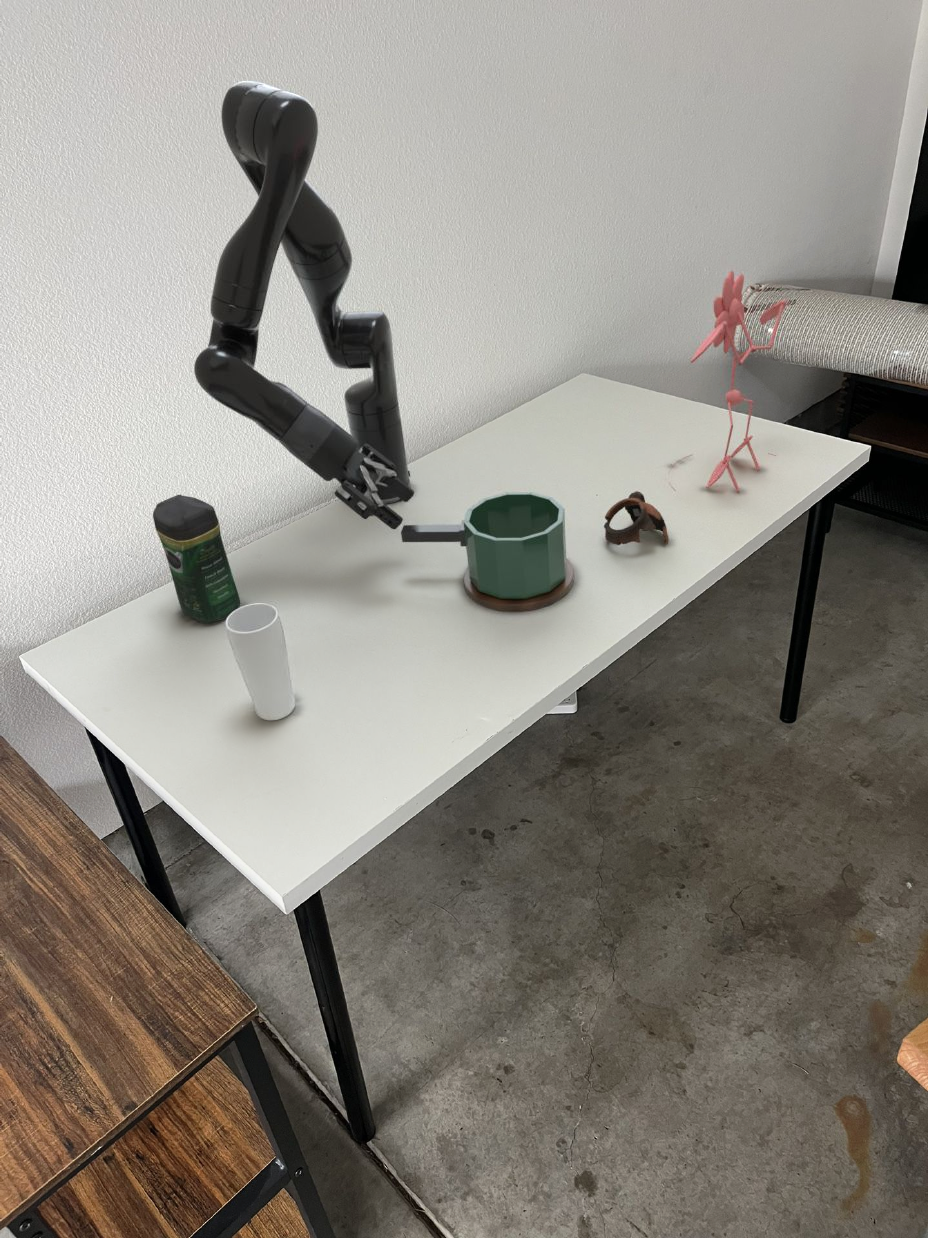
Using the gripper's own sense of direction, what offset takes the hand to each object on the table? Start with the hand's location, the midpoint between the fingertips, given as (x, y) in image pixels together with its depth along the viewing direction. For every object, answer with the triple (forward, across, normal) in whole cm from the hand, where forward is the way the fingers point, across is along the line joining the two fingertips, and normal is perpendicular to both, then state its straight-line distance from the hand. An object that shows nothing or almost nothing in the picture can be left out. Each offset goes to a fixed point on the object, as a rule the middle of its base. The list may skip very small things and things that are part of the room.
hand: (405, 510), depth 143 cm
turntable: (+20, 0, -3) cm, 21 cm away
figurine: (+42, +36, -25) cm, 61 cm away
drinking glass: (0, -32, +18) cm, 36 cm away
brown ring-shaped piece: (+33, +13, -15) cm, 39 cm away
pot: (+16, 0, 0) cm, 16 cm away
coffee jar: (-13, -8, +31) cm, 34 cm away
